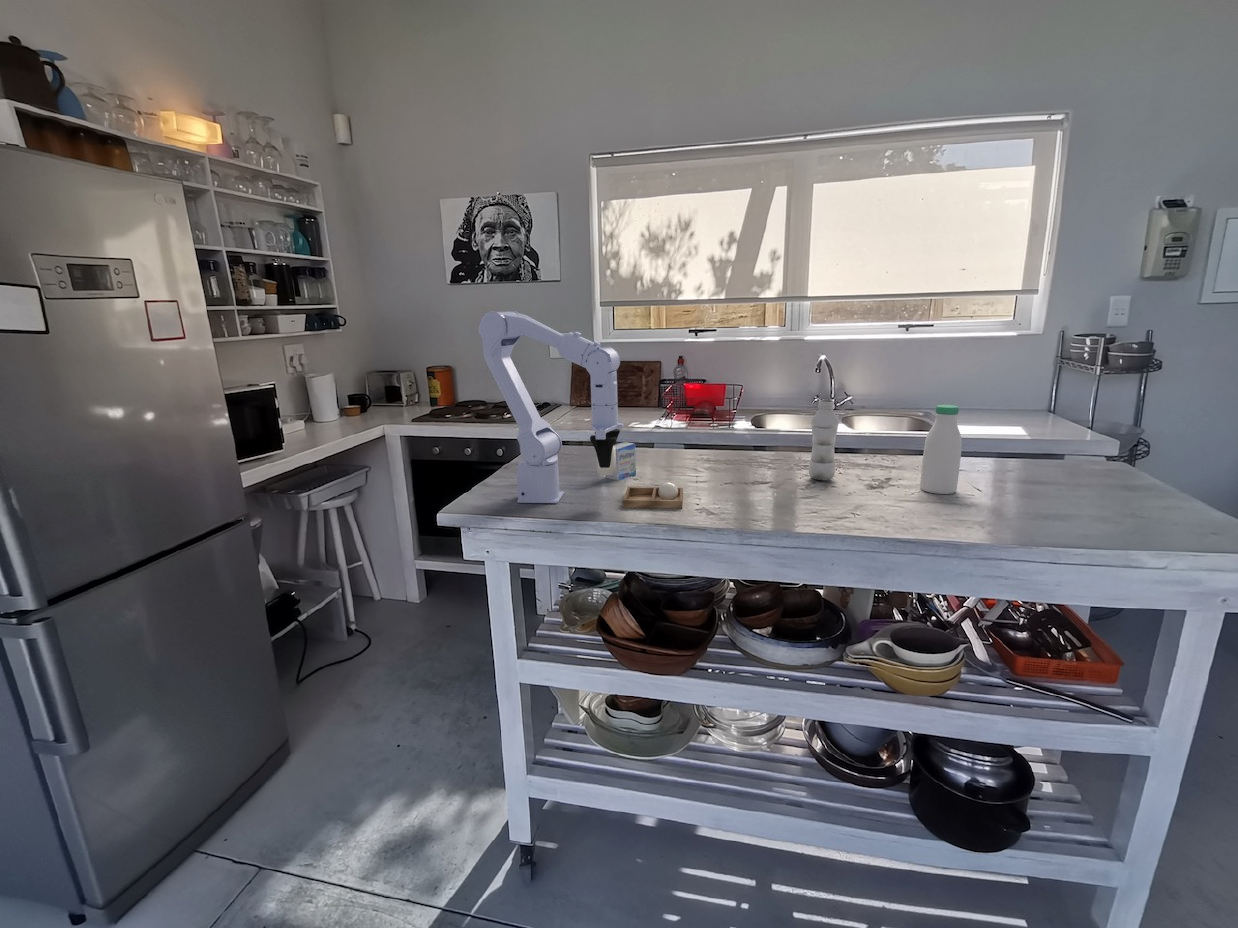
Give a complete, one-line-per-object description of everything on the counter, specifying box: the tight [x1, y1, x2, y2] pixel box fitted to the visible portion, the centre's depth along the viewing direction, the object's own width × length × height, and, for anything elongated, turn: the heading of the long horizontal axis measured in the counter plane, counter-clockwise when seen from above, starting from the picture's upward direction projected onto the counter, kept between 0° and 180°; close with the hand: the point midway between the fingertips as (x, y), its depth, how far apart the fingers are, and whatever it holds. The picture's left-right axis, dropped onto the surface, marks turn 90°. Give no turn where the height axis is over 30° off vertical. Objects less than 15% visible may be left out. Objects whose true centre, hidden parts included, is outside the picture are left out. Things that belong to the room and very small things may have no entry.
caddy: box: [622, 486, 684, 510], centre depth 138 cm, size 13×10×2 cm
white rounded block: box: [596, 445, 616, 476], centre depth 135 cm, size 4×4×6 cm
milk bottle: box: [919, 404, 963, 495], centre depth 140 cm, size 8×8×20 cm
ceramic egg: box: [659, 481, 678, 500], centre depth 137 cm, size 4×4×4 cm
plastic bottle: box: [808, 399, 840, 481], centre depth 151 cm, size 6×7×20 cm
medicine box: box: [604, 441, 637, 481], centre depth 158 cm, size 8×4×9 cm, turn 143°
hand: (606, 464), depth 135 cm, fingers closed on white rounded block, 4 cm apart
